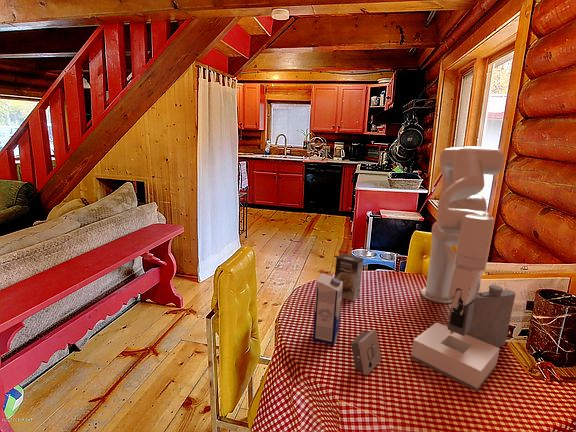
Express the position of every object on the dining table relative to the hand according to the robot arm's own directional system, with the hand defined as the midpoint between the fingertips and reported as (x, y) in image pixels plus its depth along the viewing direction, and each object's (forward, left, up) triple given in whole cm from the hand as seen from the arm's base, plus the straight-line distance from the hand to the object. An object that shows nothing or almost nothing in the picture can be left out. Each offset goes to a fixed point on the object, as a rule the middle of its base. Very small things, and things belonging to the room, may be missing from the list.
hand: (460, 322), depth 98 cm
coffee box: (-11, -46, -13) cm, 49 cm away
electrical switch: (+20, -16, -13) cm, 29 cm away
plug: (0, 0, -3) cm, 3 cm away
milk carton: (+18, -32, -13) cm, 39 cm away
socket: (0, 0, -13) cm, 13 cm away
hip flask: (-17, +3, -13) cm, 21 cm away
